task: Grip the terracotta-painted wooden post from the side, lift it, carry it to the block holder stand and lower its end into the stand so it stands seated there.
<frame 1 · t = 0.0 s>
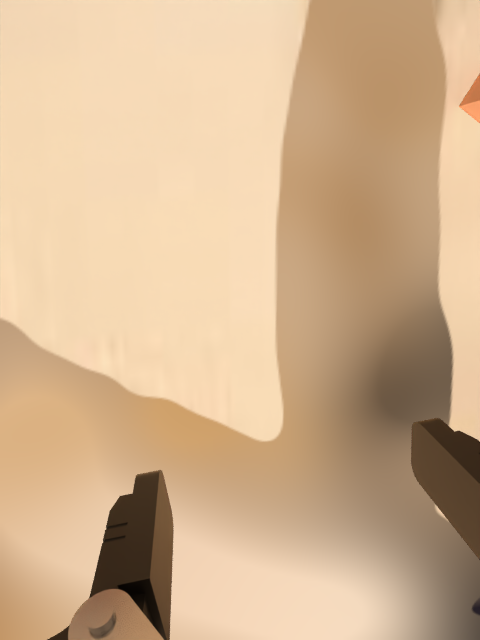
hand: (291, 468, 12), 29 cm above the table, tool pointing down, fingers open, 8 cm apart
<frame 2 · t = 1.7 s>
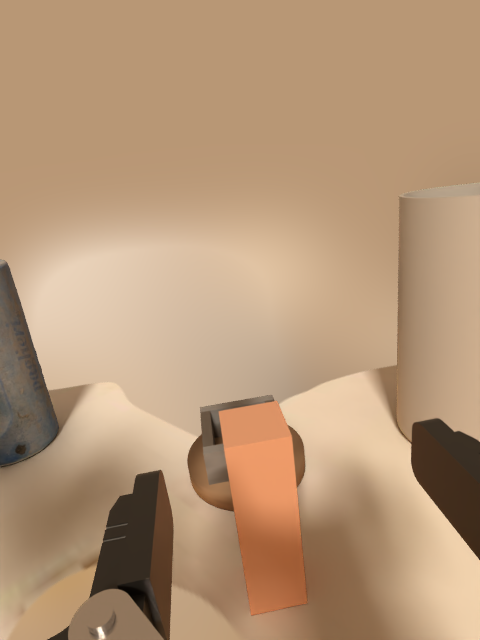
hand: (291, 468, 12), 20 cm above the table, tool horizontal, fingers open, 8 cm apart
post: (273, 582, 30), on the table
bottle: (20, 443, 51), on the table
cylinder vase: (458, 430, 43), on the table
block holder stand: (247, 465, 42), on the table
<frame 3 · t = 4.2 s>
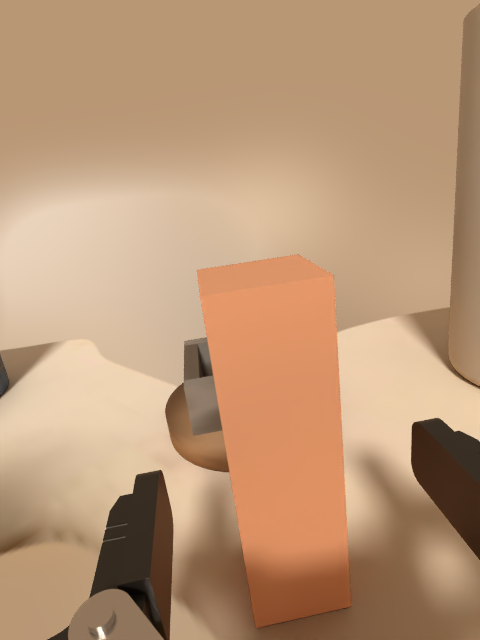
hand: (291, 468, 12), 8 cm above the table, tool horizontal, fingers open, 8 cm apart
post: (291, 572, 18), on the table
block holder stand: (248, 417, 30), on the table
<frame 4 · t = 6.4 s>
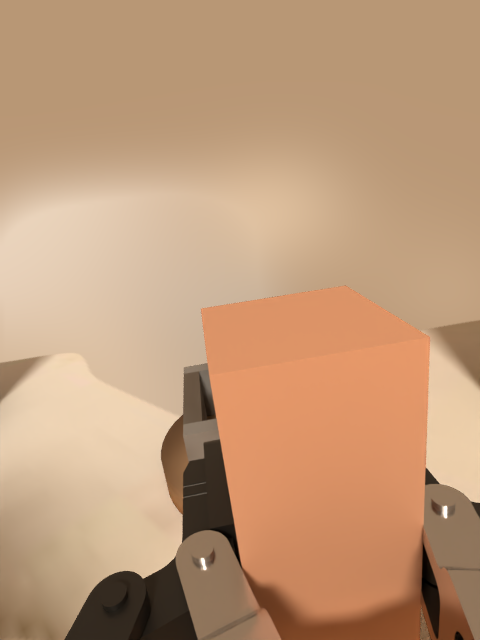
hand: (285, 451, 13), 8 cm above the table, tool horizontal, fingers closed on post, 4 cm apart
block holder stand: (259, 459, 26), on the table
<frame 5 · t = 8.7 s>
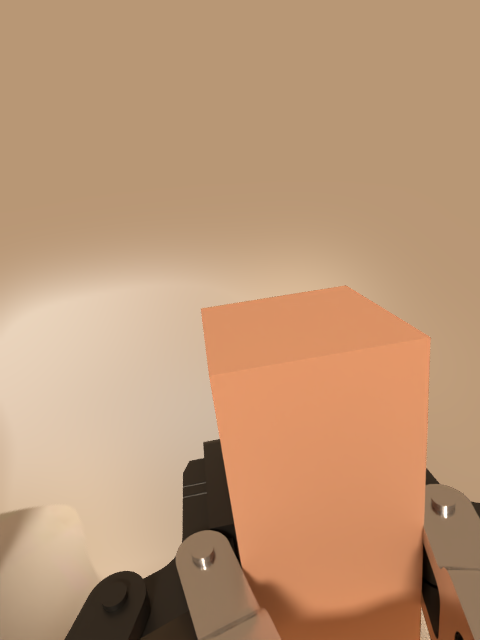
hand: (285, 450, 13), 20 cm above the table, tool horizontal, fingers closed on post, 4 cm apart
when the fingers open (12 cm above the table, at t = 11.4 s): post drops 1 cm, resting on block holder stand.
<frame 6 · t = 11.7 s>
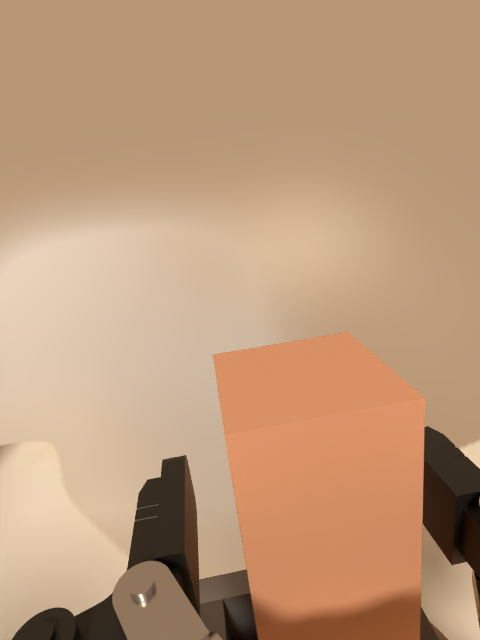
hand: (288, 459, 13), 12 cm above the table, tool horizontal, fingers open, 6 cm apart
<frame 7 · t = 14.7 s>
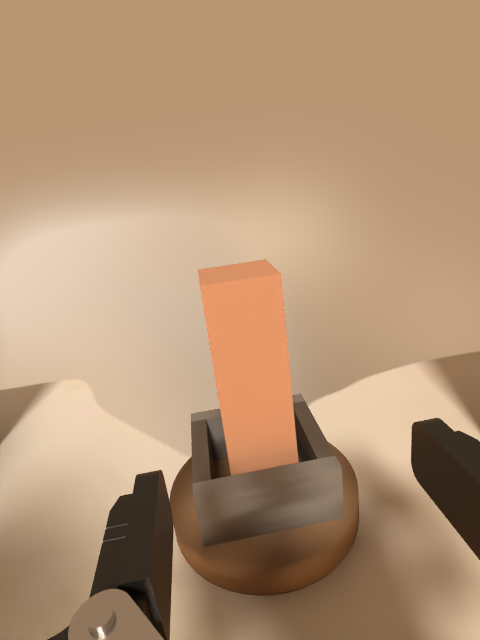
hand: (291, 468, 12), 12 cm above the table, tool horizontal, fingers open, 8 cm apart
post: (263, 481, 26), point 2 cm above the table, touching block holder stand
block holder stand: (265, 506, 26), on the table
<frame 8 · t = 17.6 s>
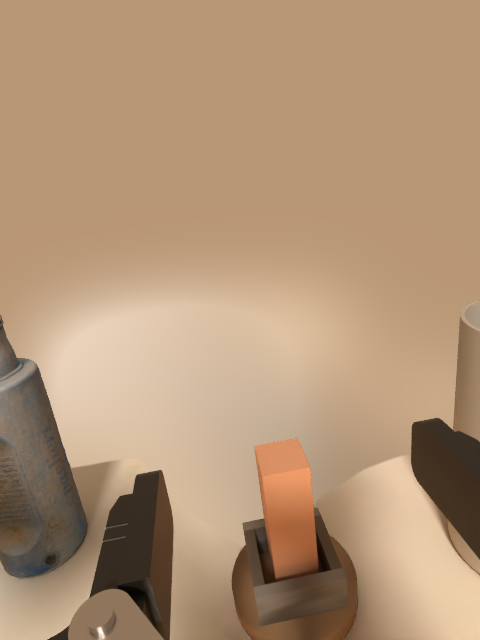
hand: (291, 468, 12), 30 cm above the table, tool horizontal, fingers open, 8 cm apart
post: (294, 574, 39), point 2 cm above the table, touching block holder stand
bottle: (48, 543, 49), on the table
block holder stand: (294, 589, 39), on the table
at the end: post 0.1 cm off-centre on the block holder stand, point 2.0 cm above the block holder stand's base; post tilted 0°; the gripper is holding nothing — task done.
